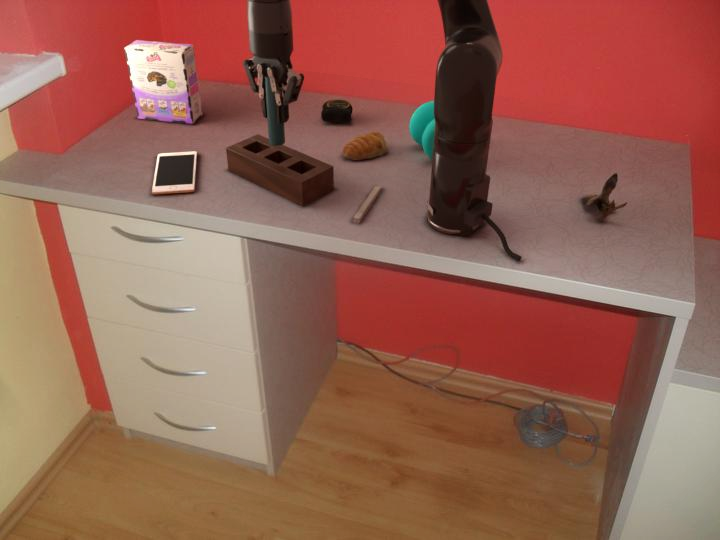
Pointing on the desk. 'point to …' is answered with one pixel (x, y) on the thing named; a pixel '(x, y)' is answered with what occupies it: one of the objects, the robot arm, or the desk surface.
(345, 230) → the desk surface
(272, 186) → the hole block
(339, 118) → the tape measure
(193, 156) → the cell phone
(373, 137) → the pastry
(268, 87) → the peg
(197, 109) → the candy box
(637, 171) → the desk surface
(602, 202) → the eagle figurine
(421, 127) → the turquoise lobed shape
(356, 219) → the beige square stick
